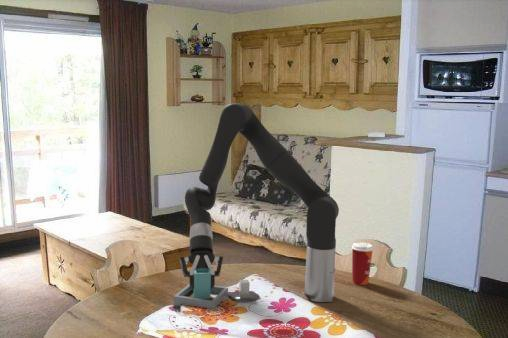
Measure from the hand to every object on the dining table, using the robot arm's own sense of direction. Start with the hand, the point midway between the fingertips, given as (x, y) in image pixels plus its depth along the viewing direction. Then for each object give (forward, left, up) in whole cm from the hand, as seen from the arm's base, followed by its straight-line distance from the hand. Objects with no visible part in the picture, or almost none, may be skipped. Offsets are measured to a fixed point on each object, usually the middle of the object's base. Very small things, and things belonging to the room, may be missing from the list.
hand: (202, 288), depth 156 cm
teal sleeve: (+1, -2, -3) cm, 4 cm away
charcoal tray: (+1, -2, -5) cm, 6 cm away
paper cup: (-45, -40, -6) cm, 60 cm away
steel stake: (-11, -8, -5) cm, 15 cm away
